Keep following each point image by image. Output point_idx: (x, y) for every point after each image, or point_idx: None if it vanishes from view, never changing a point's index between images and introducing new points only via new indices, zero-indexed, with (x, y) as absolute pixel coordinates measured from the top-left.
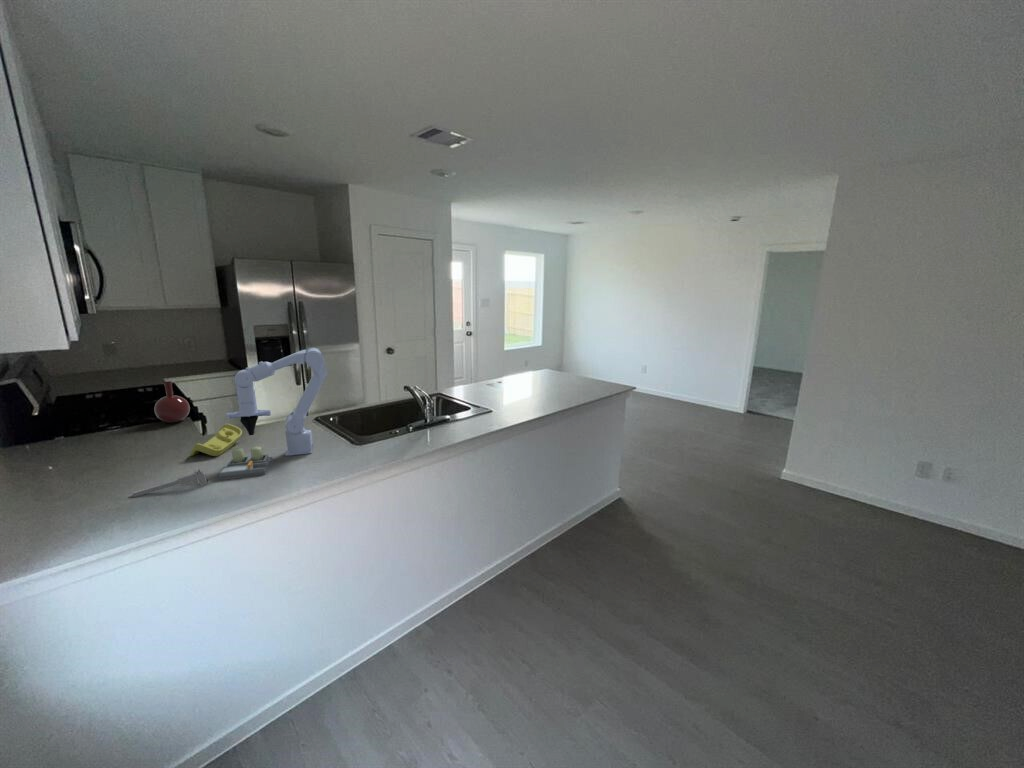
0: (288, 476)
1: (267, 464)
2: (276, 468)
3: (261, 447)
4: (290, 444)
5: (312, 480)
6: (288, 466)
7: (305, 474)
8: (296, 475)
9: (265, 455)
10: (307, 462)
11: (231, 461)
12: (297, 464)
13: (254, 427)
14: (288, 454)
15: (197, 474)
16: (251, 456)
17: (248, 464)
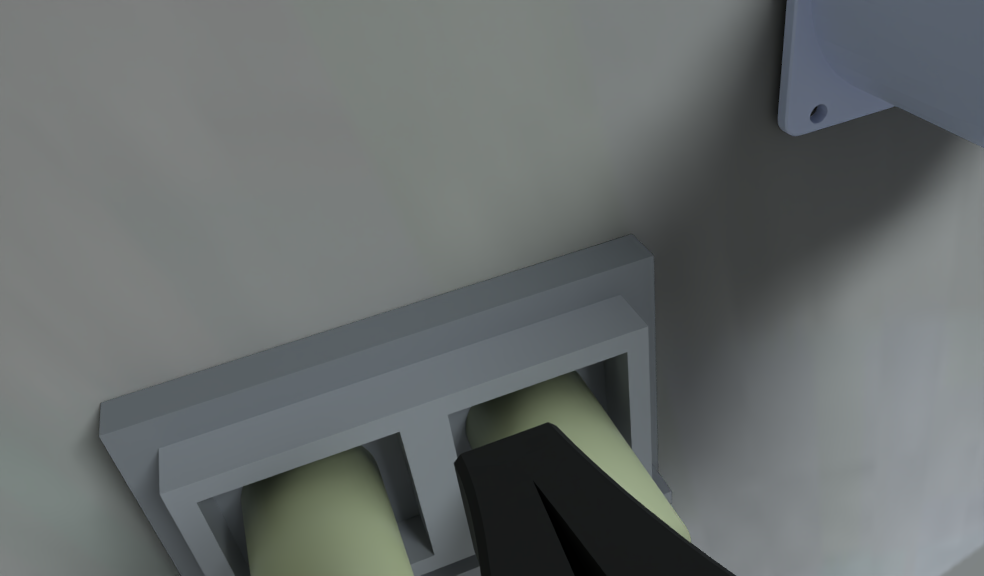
0: (823, 529)
1: (652, 452)
2: (717, 431)
3: (684, 533)
4: (980, 145)
5: (961, 541)
6: (817, 381)
7: (933, 483)
8: (875, 506)
9: (617, 353)
10: (976, 284)
11: (232, 571)
12: (892, 333)
13: (668, 554)
14: (823, 121)
15: None
16: (441, 414)
17: None
